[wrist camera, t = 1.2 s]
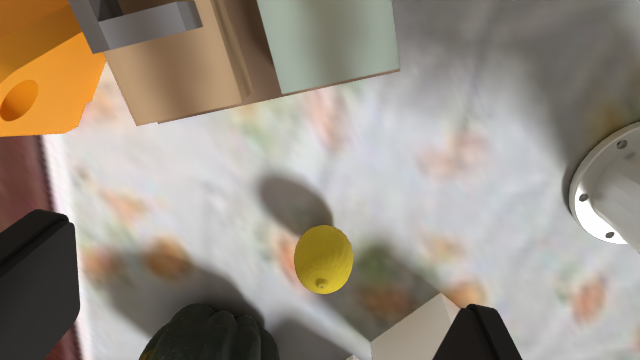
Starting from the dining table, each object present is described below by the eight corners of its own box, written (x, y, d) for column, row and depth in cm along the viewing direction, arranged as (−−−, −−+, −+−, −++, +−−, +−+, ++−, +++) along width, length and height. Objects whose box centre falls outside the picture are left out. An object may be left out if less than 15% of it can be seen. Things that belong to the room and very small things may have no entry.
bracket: (32, -39, 29) (-149, -61, 18) (122, 17, 30) (5, 27, 19) (3, 80, 33) (-159, 120, 22) (83, 123, 34) (-32, 181, 24)
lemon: (300, 207, 37) (291, 257, 30) (354, 213, 37) (359, 264, 30) (296, 252, 40) (287, 308, 33) (347, 257, 40) (350, 314, 33)
